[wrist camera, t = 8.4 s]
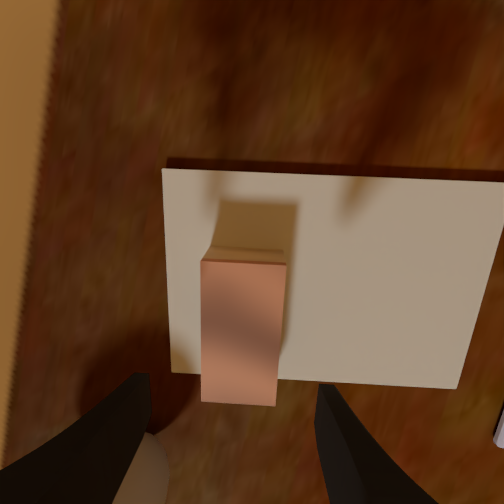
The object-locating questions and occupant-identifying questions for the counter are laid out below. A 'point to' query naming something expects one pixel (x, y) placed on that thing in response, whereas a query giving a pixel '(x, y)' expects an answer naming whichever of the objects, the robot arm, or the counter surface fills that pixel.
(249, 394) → the pink and beige box
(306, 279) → the mat
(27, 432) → the counter surface
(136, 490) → the donut
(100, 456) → the robot arm
